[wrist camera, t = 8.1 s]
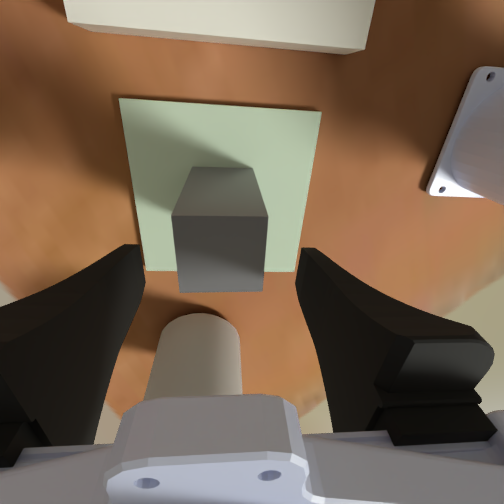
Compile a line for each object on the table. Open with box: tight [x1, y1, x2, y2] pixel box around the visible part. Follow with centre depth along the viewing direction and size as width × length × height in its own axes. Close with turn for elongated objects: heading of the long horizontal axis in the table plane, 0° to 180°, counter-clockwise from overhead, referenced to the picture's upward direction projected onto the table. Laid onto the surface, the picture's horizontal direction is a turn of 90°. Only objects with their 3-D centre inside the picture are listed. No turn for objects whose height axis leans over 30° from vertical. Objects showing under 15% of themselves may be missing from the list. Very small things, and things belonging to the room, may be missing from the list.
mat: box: [119, 98, 322, 272], centre depth 20 cm, size 12×12×1 cm
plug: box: [171, 167, 269, 293], centre depth 16 cm, size 4×4×8 cm
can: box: [143, 313, 242, 401], centre depth 22 cm, size 8×8×12 cm
